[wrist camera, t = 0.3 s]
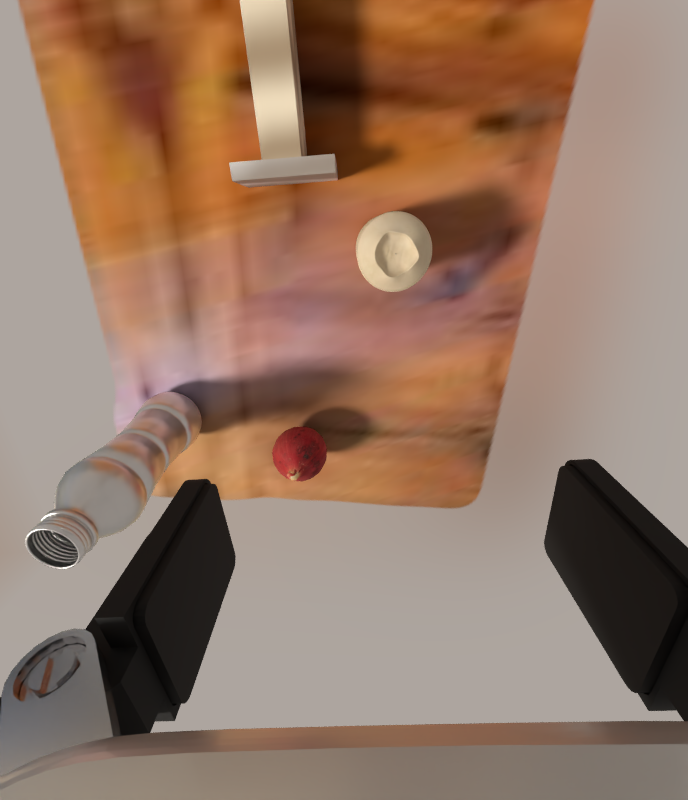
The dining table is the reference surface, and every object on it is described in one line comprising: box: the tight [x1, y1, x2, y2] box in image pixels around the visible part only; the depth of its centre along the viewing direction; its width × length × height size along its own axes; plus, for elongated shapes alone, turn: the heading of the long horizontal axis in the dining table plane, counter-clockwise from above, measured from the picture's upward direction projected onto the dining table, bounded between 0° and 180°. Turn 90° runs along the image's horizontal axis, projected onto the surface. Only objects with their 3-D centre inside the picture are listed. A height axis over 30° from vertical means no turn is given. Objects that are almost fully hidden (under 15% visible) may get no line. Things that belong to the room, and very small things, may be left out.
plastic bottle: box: [25, 392, 202, 569], centre depth 33 cm, size 6×7×20 cm
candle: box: [356, 211, 432, 292], centre depth 30 cm, size 6×6×10 cm
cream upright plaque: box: [229, 0, 338, 187], centre depth 27 cm, size 14×8×5 cm, turn 4°
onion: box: [272, 427, 327, 481], centre depth 40 cm, size 6×6×8 cm
